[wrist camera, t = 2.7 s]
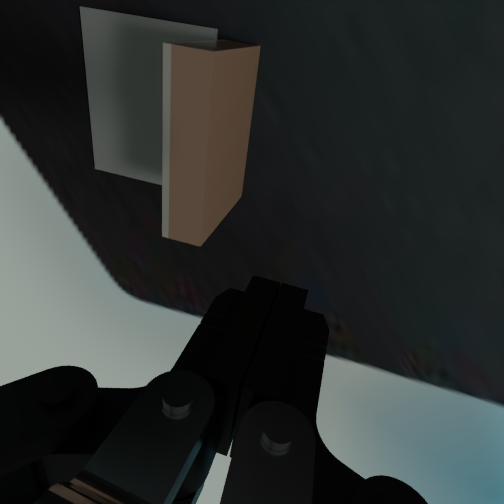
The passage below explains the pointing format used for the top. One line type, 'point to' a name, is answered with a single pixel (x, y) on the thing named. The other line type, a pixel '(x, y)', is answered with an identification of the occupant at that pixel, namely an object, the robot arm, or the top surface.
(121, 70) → the mat
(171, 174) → the tile
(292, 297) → the robot arm
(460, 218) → the top surface
